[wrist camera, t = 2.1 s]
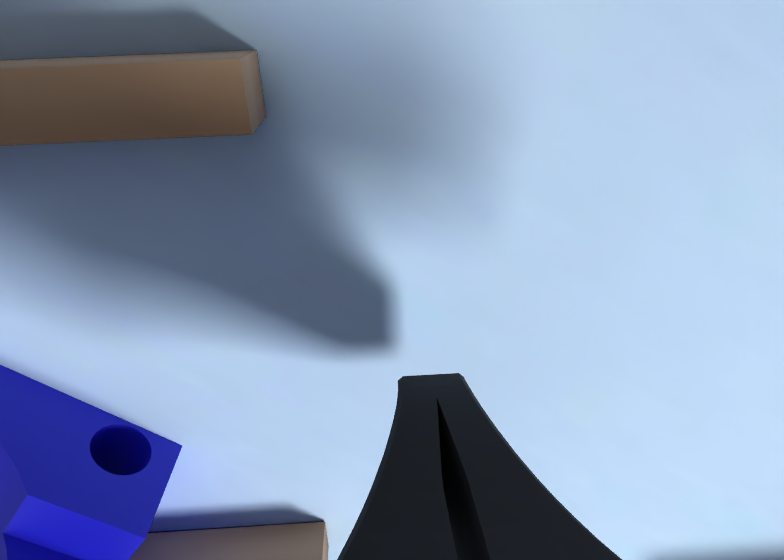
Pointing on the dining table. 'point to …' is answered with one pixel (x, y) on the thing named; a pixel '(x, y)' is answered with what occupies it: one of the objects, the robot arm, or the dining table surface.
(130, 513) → the cable clip
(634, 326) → the dining table surface
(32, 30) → the dining table surface
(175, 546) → the guide lane
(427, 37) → the dining table surface
